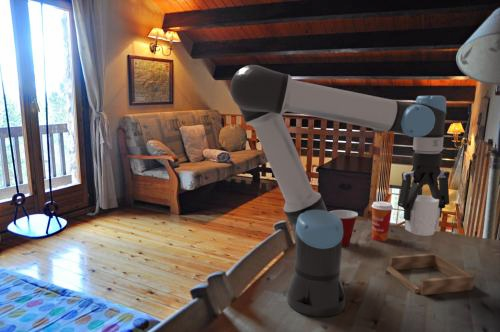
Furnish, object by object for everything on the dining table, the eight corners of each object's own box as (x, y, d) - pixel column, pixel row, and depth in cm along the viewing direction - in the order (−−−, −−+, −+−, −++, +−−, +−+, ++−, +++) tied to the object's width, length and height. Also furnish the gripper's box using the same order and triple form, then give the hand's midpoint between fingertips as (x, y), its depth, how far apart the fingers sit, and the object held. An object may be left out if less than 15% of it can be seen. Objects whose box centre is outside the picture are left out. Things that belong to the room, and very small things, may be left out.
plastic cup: (339, 236, 147) (341, 206, 144) (362, 245, 138) (364, 213, 136) (319, 241, 140) (321, 211, 138) (342, 251, 132) (344, 219, 130)
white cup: (439, 237, 105) (442, 203, 103) (409, 235, 106) (412, 201, 105) (432, 228, 112) (435, 195, 110) (404, 226, 114) (406, 194, 112)
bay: (417, 295, 103) (418, 282, 103) (384, 268, 119) (385, 256, 118) (472, 289, 107) (474, 276, 106) (433, 264, 123) (434, 253, 122)
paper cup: (364, 236, 147) (367, 201, 144) (381, 234, 149) (384, 200, 147) (377, 243, 140) (380, 207, 137) (394, 241, 142) (397, 205, 139)
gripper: (402, 155, 99) (397, 237, 104) (469, 152, 103) (461, 231, 107) (386, 151, 107) (382, 227, 111) (450, 148, 110) (443, 222, 115)
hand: (421, 229), depth 109 cm, fingers closed on white cup, 7 cm apart
